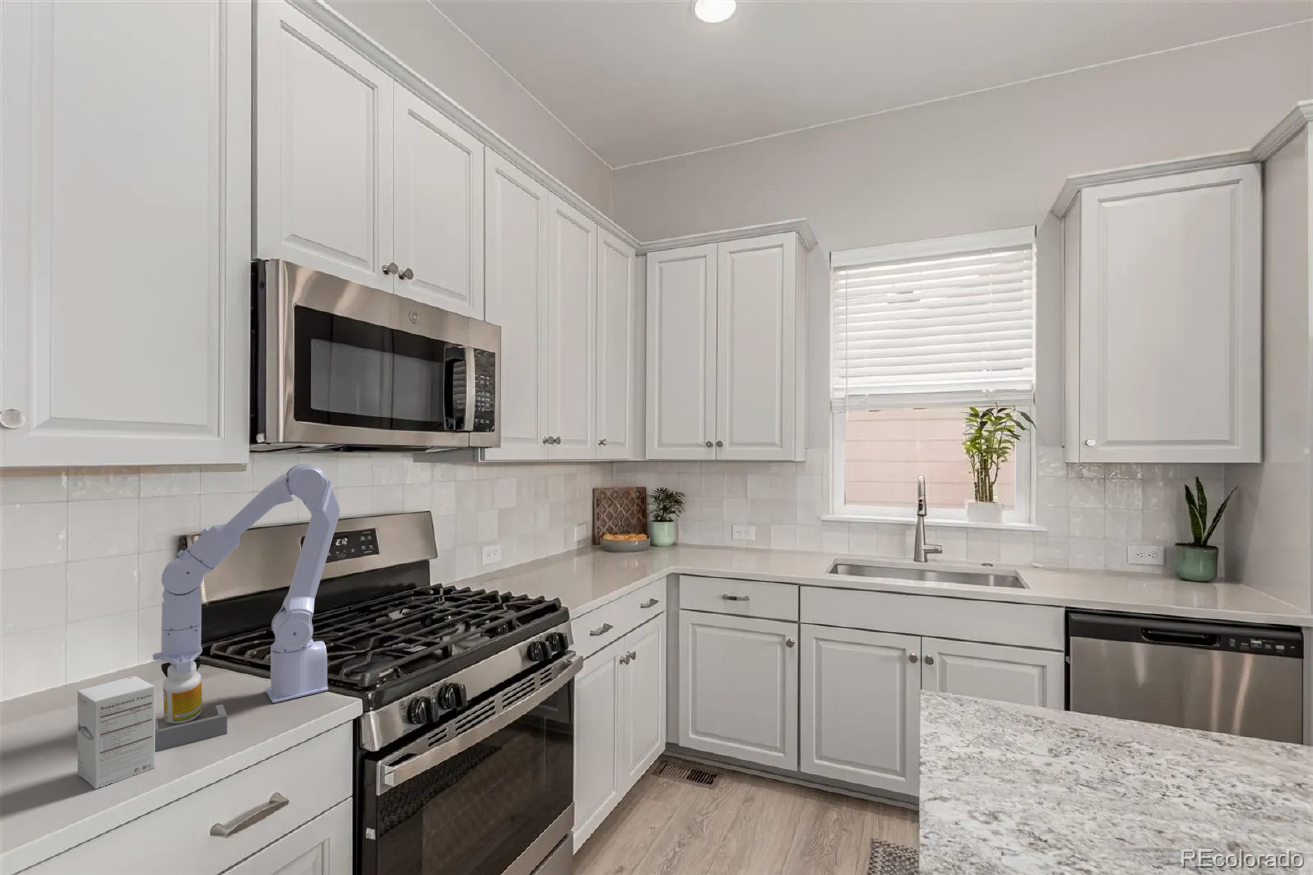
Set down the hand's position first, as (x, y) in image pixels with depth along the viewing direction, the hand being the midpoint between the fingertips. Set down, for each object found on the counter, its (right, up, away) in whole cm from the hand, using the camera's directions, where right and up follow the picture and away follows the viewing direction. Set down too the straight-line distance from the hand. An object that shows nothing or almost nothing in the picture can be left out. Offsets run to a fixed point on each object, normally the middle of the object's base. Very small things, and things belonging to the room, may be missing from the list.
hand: (180, 702), depth 115 cm
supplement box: (+5, -3, -20) cm, 20 cm away
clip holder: (+7, -2, -8) cm, 11 cm away
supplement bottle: (+2, -2, -2) cm, 3 cm away
